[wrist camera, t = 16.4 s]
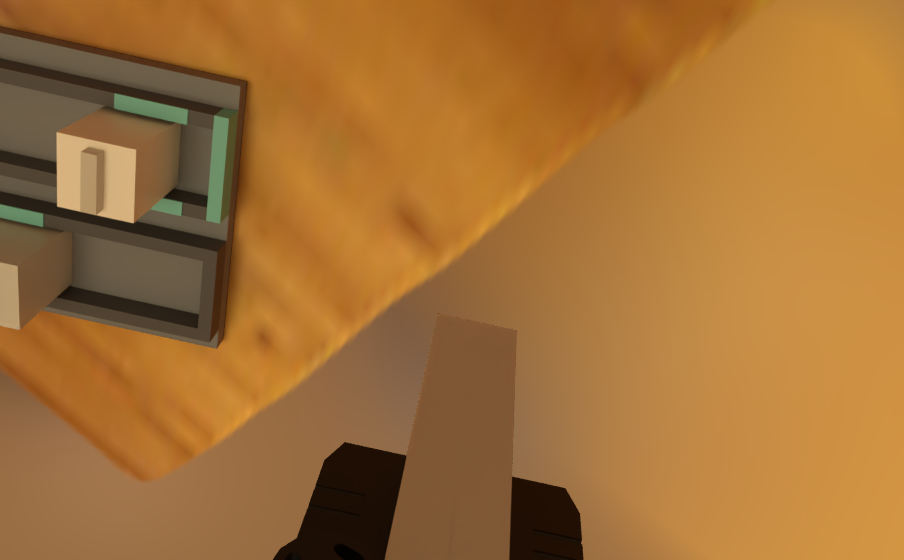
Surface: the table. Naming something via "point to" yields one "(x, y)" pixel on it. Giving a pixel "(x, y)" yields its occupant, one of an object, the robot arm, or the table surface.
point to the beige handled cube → (31, 269)
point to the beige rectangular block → (117, 163)
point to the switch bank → (163, 226)
